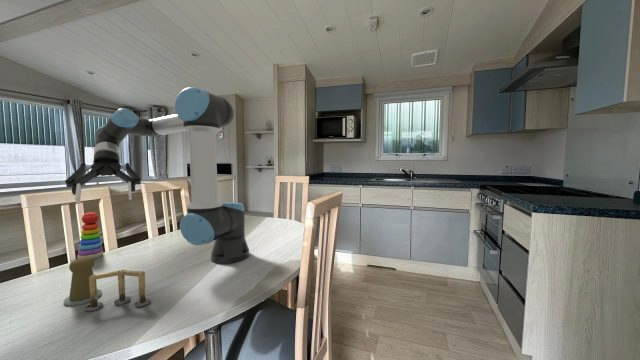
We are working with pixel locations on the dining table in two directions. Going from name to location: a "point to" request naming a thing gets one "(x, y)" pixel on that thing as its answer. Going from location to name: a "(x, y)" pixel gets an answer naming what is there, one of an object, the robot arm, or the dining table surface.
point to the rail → (121, 282)
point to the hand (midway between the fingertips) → (105, 199)
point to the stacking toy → (90, 237)
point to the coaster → (69, 303)
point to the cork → (80, 278)
